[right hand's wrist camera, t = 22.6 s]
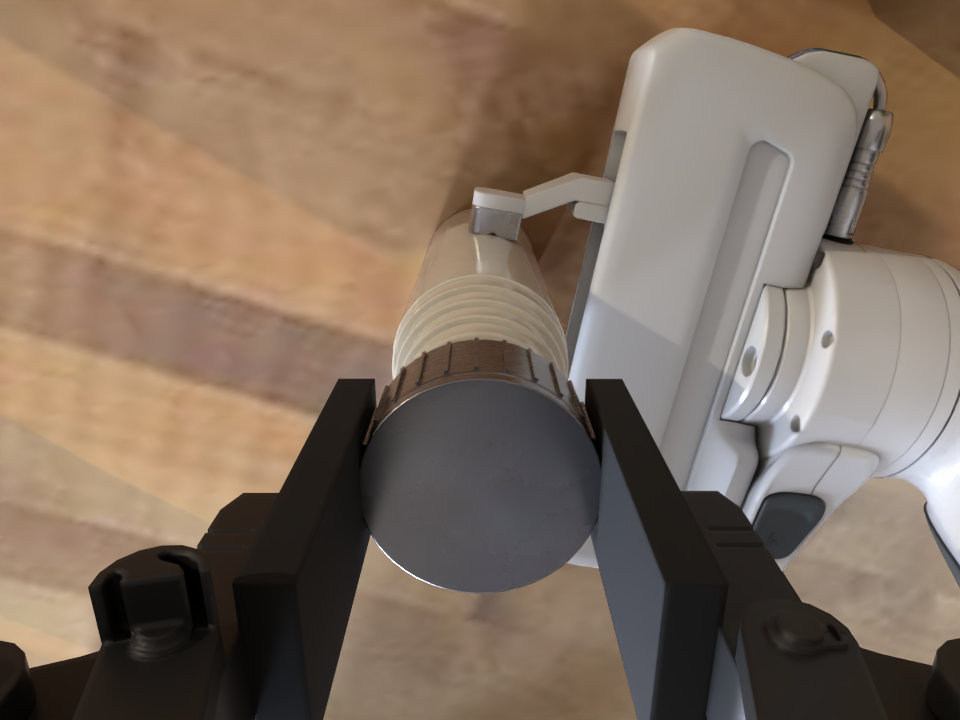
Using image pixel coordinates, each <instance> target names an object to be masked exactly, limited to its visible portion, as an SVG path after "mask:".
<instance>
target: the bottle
mask: <svg viewBox="0 0 960 720" xmlns="http://www.w3.org/2000/svg"><path fill="white" fill-rule="evenodd" d="M470 214H471V209H468V210H464V211H461V212H459V213H457V214H454V215H453V216H451V217H450V218H448V219H447V220H446V221H445V222H443V223H442V225H441V226H440V227H439V228H438V229H437V231H436V232H435V233H434V235H433V237H432V239H431V242H430V244H429V247H428V250H427V252H426V255H425V258H424V260H423V263H422V266H421V269H420V271H419V274H418V277H417V279H416V282H415V285H414V287H413V290H412V293H411V295H410V298H409V301H408V303H407V306H406V309H405V312H404V314H403V317H402V320H401V322H400V325H399V328H398V330H397V333H396V337H395V341H394V347H393V361H392V373H393V380H394V379H395V377H396V376H397V375H398V374H399V372H400V369H401V368H402V367H403V366H404V367H406V366H407V365H409V364H410V363H411V362H413V361H414V360H415V359H417V358H418V357H420V356H421V355H422V352H424V351H426V352H429V351H431V350H433V349H436V348H438V347H440V346H443V345H446V344H447V342H449V341H451V342H452V343H454V342H458V341H465V340H475V338H476V337H479V340H482V339H488V340H496V341H502V340H506V341H507V343H511V344H515V345H518V346H520V347H523V348H526V349H528V348H531V349H532V350H533V352H534V353H536V354H538V355H540V356H541V357H543V358H544V359H546V360H547V361H548V362H550V363H551V362H554V363H555V366H556V368H557V369H558V370H559V371H560V372H561V373H562V374H563V375H564V376H565V378H566V379H568V367H569V363H568V351H567V342H566V338H565V334H564V331H563V328H562V325H561V323H560V320H559V317H558V315H557V312H556V309H555V307H554V304H553V301H552V299H551V296H550V293H549V291H548V288H547V285H546V283H545V280H544V277H543V275H542V272H541V269H540V267H539V264H538V261H537V259H536V256H535V253H534V251H533V248H532V245H531V243H530V241H529V238H528V236H527V234H526V233H525V231H524V230H523V229H522V227H521V226H520V228H519V233H518V237H517V241H514V240H508V239H503V238H501V237H497V236H496V235H495V234H494V233H491V234H488V235H484V234H481V235H480V234H476V233H472V232H470V231H468V228H469V221H470Z"/></svg>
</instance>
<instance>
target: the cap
mask: <svg viewBox="0 0 960 720" xmlns="http://www.w3.org/2000/svg"><path fill="white" fill-rule="evenodd" d="M596 440H597V439H596V436H595V433H594V430H593V427H592V424H591V422H590V419H589V416H588V413H587V410H586V407H585V404H584V402H583V401H582V402H580V400H579V398H578V395H577V394H576V391H575V388H574V385H573V382H572V381H571V380H569V381H568V380H567V379H566V378H565V376H564V375H563V374H562V373H561V372H560V371H559V370H558V369H557V368H556V366H555V363H554V362H551V363H550V362H548V361H547V360H546V359H544V358H543V357H541V356H540V355H538V354H536V353H534V352H533V350H532V349H531V348H528V349H526V348H523V347H520V346H518V345H515V344H511V343H507V341H506V340H502V341H496V340H488V339H482V340H479V337H476V338H475V340H465V341H458V342H454V343H452V342H451V341H449V342H447V344H446V345H443V346H440V347H438V348H436V349H433V350H431V351H429V352H426V351H424V352H422V355H421V356H420V357H418V358H417V359H415V360H414V361H413V362H411V363H410V364H409V365H407V366H406V367H404V366H403V367H402V368H401V369H400V372H399V374H398V375H397V376H396V377H395V379H394V380H393V381H392V383H391V384H390V385H389V386H387V385H386V387H385V388H384V391H383V394H382V397H381V400H380V403H379V406H378V408H375V410H374V413H373V416H372V419H371V421H370V424H369V427H368V430H367V433H366V436H365V439H364V441H363V444H362V447H363V448H365V449H364V452H363V455H362V458H361V461H360V466H359V472H360V487H361V501H362V515H363V519H364V521H365V524H366V526H367V528H368V530H369V532H370V534H371V535H372V537H373V539H374V541H375V542H376V543H377V544H378V546H379V547H380V548H381V550H382V551H383V552H384V553H385V554H386V555H387V556H388V557H389V558H390V559H391V560H392V561H393V562H394V563H395V564H397V565H398V566H399V567H401V568H402V569H403V570H404V571H406V572H408V573H409V574H411V575H413V576H414V577H416V578H418V579H420V580H422V581H425V582H427V583H429V584H431V585H434V586H438V587H441V588H444V589H448V590H453V591H458V592H466V593H495V592H504V591H509V590H513V589H517V588H521V587H524V586H526V585H529V584H532V583H535V582H537V581H539V580H541V579H543V578H545V577H547V576H548V575H550V574H552V573H553V572H555V571H556V570H558V569H559V568H561V567H562V566H563V565H564V564H565V563H567V562H568V561H569V560H570V559H571V558H572V557H573V556H574V555H575V554H576V553H577V552H578V551H579V550H580V549H581V547H582V546H583V544H584V543H585V542H586V540H587V539H588V537H589V536H590V534H591V532H592V530H593V528H594V526H595V524H596V521H597V519H598V512H599V498H600V484H601V462H600V458H599V454H598V451H597V449H596V445H595V443H594V441H596Z"/></svg>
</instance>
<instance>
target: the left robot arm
mask: <svg viewBox="0 0 960 720" xmlns="http://www.w3.org/2000/svg"><path fill="white" fill-rule="evenodd" d="M872 97H874V102H873V109H868V108H869V105H870V102H871V100H872ZM886 107H887V89H886V84H885V81H884V79H883V77H882V75H881V73H880V71H879V70H878V68H877V66H875V65H874V64H873V63H871V62H870V61H868V60H867V59H865V58H862V57H860V56H857V55H852V54H847V53H842V52H837V51H832V50H827V49H822V48H812V49H806V50H802V51H799V52H796V53H794V54H792V55H790V56H789V57H784V56H782V55H779V54H776V53H774V52H771V51H769V50H766V49H763V48H760V47H757V46H755V45H752V44H749V43H746V42H743V41H739V40H736V39H733V38H730V37H726V36H722V35H718V34H715V33H711V32H707V31H703V30H698V29H693V28H686V27H685V28H673V29H669V30H666V31H664V32H662V33H660V34H658V35H657V36H655V37H653V38H652V39H650V40H649V41H647V42H646V43H645V44H643V45H642V46H640V47H639V48H638V49H636V50H635V51H634V53H633V54H632V56H631V58H630V61H629V65H628V69H627V73H626V77H625V82H624V86H623V90H622V94H621V99H620V103H619V107H618V112H617V116H616V120H615V125H614V129H613V133H612V138H611V142H610V146H609V150H608V155H607V159H606V163H605V168H604V172H603V176H602V177H596V176H591V175H585V174H579V173H574V172H572V173H570V174H567V175H564V176H562V177H559V178H556V179H554V180H551V181H548V182H546V183H543V184H540V185H538V186H535V187H532V188H530V189H527V190H524V191H523V194H519V193H513V192H508V191H502V190H497V189H491V188H485V187H475V191H474V197H473V202H472V208H471V214H470V221H469V228H468V231H470V232H472V233H476V234H480V235H481V234H484V235H488V234H491V233H494V234H495V235H496V236H497V237H501V238H503V239H508V240H514V241H517V237H518V233H519V228H520V224H521V219H522V218H523V219H524V218H527V217H530V216H533V215H536V214H538V213H541V212H544V211H547V210H550V209H553V208H556V207H558V206H561V205H564V204H567V205H566V207H567V208H568V210H569V211H570V212H571V213H572V214H573V216H574V217H575V218H577V219H582V220H587V221H592V224H591V228H590V232H589V237H588V241H587V245H586V249H585V254H584V258H583V262H582V267H581V271H580V275H579V280H578V284H577V288H576V293H575V297H574V301H573V305H572V310H571V314H570V318H569V323H568V327H567V331H566V336H565V338H566V342H567V351H568V363H569V367H568V379H567V380H568V381H569V380H571V381H572V382H573V385H574V388H575V391H576V394H577V395H578V398H579V400H580V402H582V401H583V402H584V404H585V387H586V379H623V381H624V383H625V385H626V387H627V389H628V391H629V393H630V395H631V397H632V399H633V401H634V402H635V404H636V406H637V408H638V410H639V412H640V414H641V416H642V418H643V420H644V422H645V424H646V425H647V427H648V429H649V431H650V433H651V435H652V437H653V439H654V441H655V443H656V445H657V447H658V448H659V450H660V452H661V454H662V456H663V458H664V460H665V462H666V464H667V466H668V468H669V470H670V471H671V473H672V475H673V477H674V479H675V481H676V483H677V485H678V487H679V489H680V491H718V492H720V493H721V494H723V495H724V496H725V497H727V498H728V499H729V500H731V501H732V502H734V503H735V504H736V505H738V506H739V507H740V508H741V509H742V510H743V512H744V514H745V515H746V517H747V518H748V520H749V521H750V523H751V524H752V526H753V530H754V531H756V532H757V534H758V535H759V537H760V538H761V540H762V541H763V543H764V547H767V549H768V550H769V552H770V554H771V555H772V557H773V558H774V560H775V561H776V563H777V564H778V566H779V567H780V569H781V570H782V571H783V570H784V569H785V568H786V566H787V565H788V564H789V563H790V562H791V561H792V559H793V558H794V557H795V556H796V555H797V553H798V552H799V551H800V550H801V548H802V547H803V546H804V545H805V544H806V542H807V541H808V540H809V539H810V538H811V537H812V535H813V534H814V533H815V532H816V531H817V530H818V529H819V527H820V526H821V525H822V524H823V523H824V522H825V521H826V520H827V519H828V518H829V517H830V515H831V514H832V513H833V512H834V511H835V510H836V509H837V508H838V507H839V506H840V505H841V504H842V503H843V502H844V501H845V500H846V499H847V498H849V497H850V496H851V495H852V494H853V493H854V492H855V491H856V490H858V489H859V488H860V487H861V486H862V485H863V484H864V483H865V482H866V481H867V480H868V479H869V478H898V479H902V480H905V481H907V482H909V483H911V484H913V485H914V486H916V487H917V488H918V489H920V490H921V491H922V492H923V493H924V495H925V497H926V499H927V502H926V503H925V505H924V512H925V515H926V518H927V521H928V524H929V527H930V529H931V532H932V534H933V536H934V538H935V540H936V542H937V544H938V546H939V549H940V551H941V553H942V555H943V557H944V559H945V561H946V562H947V564H948V566H949V568H950V570H951V572H952V574H953V576H954V578H955V580H956V582H957V584H958V586H959V588H960V270H958V269H956V268H955V267H953V266H951V265H949V264H947V263H945V262H943V261H941V260H938V259H935V258H932V257H929V256H925V255H920V254H914V253H909V252H903V251H898V250H892V249H887V248H881V247H876V246H870V245H865V244H860V243H855V242H853V241H851V240H852V238H853V235H854V232H855V229H856V227H857V224H858V221H859V218H860V216H861V213H862V210H863V207H864V205H865V202H866V198H867V195H868V189H869V187H870V181H871V178H872V175H871V174H872V173H873V171H874V168H875V167H874V165H876V162H877V160H878V157H879V155H880V152H881V153H882V152H883V150H884V148H885V146H886V144H887V142H888V139H889V136H890V133H891V129H892V124H893V113H892V112H889V111H886ZM567 563H568V564H573V565H579V566H586V567H593V568H599V567H598V563H597V559H596V555H595V551H594V547H593V543H592V539H591V535H590V536H589V537H588V539H587V540H586V542H585V543H584V544H583V546H582V547H581V549H580V550H579V551H578V552H577V553H576V554H575V555H574V556H573V557H572V558H571V559H570V560H569V561H568V562H567Z"/></svg>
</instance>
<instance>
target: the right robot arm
mask: <svg viewBox="0 0 960 720" xmlns="http://www.w3.org/2000/svg"><path fill="white" fill-rule="evenodd" d="M585 407H586V410H587V413H588V416H589V419H590V422H591V424H592V427H593V430H594V433H595V436H596V439H597V440H596V441H594V443H595V445H596V449H597V451H598V454H599V458H600V462H601V484H600V498H599V512H598V519H597V521H596V524H595V526H594V528H593V530H592V532H591V534H590V535H591V539H592V543H593V547H594V551H595V555H596V559H597V563H598V567H599V570H600V574H601V578H602V582H603V586H604V590H605V594H606V598H607V602H608V606H609V609H610V613H611V617H612V621H613V625H614V629H615V633H616V637H617V641H618V645H619V648H620V652H621V656H622V660H623V664H624V668H625V672H626V676H627V680H628V684H629V687H630V691H631V695H632V699H633V703H634V707H635V711H636V715H637V719H638V720H960V638H959V639H954V640H948V641H946V642H945V643H944V644H943V645H942V646H941V647H940V648H939V649H938V650H937V653H936V656H935V659H934V663H933V666H931V665H927V664H922V663H918V662H914V661H909V660H905V659H901V658H896V657H892V656H887V655H883V654H879V653H876V652H873V651H869V650H866V649H863V648H860V647H859V645H858V643H857V641H856V640H855V638H854V637H853V635H852V634H851V632H850V631H849V629H848V628H847V627H846V626H844V625H843V624H842V623H841V622H839V621H838V620H837V619H836V618H834V617H833V616H832V615H831V614H829V613H827V612H825V611H822V610H820V609H818V608H816V607H814V606H812V605H810V604H806V603H803V602H802V601H801V600H800V598H799V597H798V595H797V593H796V592H795V590H794V589H793V587H792V586H791V584H790V583H789V581H788V580H787V578H786V577H785V575H784V574H783V572H782V570H781V569H780V567H779V566H778V564H777V563H776V561H775V560H774V558H773V557H772V555H771V554H770V552H769V550H768V549H767V547H764V543H763V541H762V540H761V538H760V537H759V535H758V534H757V532H756V531H754V530H753V526H752V524H751V523H750V521H749V520H748V518H747V517H746V515H745V514H744V512H743V510H742V509H741V508H740V507H739V506H738V505H736V504H735V503H734V502H732V501H731V500H729V499H728V498H727V497H725V496H724V495H723V494H721V493H720V492H718V491H680V489H679V487H678V485H677V483H676V481H675V479H674V477H673V475H672V473H671V471H670V470H669V468H668V466H667V464H666V462H665V460H664V458H663V456H662V454H661V452H660V450H659V448H658V447H657V445H656V443H655V441H654V439H653V437H652V435H651V433H650V431H649V429H648V427H647V425H646V424H645V422H644V420H643V418H642V416H641V414H640V412H639V410H638V408H637V406H636V404H635V402H634V401H633V399H632V397H631V395H630V393H629V391H628V389H627V387H626V385H625V383H624V381H623V379H586V387H585ZM375 408H376V391H375V379H338V381H337V383H336V385H335V387H334V389H333V391H332V392H331V394H330V396H329V398H328V400H327V402H326V404H325V406H324V408H323V410H322V412H321V414H320V415H319V417H318V419H317V421H316V423H315V425H314V427H313V429H312V431H311V433H310V435H309V437H308V438H307V440H306V442H305V444H304V446H303V448H302V450H301V452H300V454H299V456H298V458H297V460H296V461H295V463H294V465H293V467H292V469H291V471H290V473H289V475H288V477H287V479H286V481H285V483H284V484H283V486H282V488H281V490H280V492H279V493H243V494H241V495H240V496H239V497H237V498H236V499H235V500H233V501H232V502H230V503H229V504H228V505H226V506H225V507H224V508H222V509H221V510H220V511H219V513H218V514H217V516H216V518H215V519H214V521H213V522H212V524H211V525H210V527H209V528H208V533H205V535H204V536H203V538H202V539H201V541H200V542H199V544H198V545H197V549H194V548H191V547H187V546H183V545H171V546H158V547H154V548H149V549H145V550H140V551H137V552H135V553H133V554H130V555H128V556H126V557H123V558H121V559H119V560H117V561H115V562H114V563H113V564H111V565H110V566H108V567H107V568H105V569H104V570H103V571H101V572H100V573H99V574H98V575H97V576H96V578H95V579H94V580H93V582H92V583H91V584H90V585H89V587H88V589H89V593H90V597H91V601H92V605H93V609H94V614H95V618H96V622H97V626H98V630H99V634H100V638H101V642H102V646H101V648H100V651H98V652H94V653H91V654H88V655H84V656H81V657H77V658H73V659H68V660H64V661H60V662H55V663H51V664H46V665H42V666H38V667H33V668H29V666H28V663H27V659H26V656H25V653H24V652H23V651H22V650H21V649H20V648H19V647H18V646H17V645H16V644H15V643H9V642H4V641H0V720H323V718H324V714H325V710H326V706H327V702H328V698H329V694H330V690H331V687H332V683H333V679H334V675H335V671H336V667H337V663H338V659H339V655H340V651H341V647H342V644H343V640H344V636H345V632H346V628H347V624H348V620H349V616H350V612H351V608H352V605H353V601H354V597H355V593H356V589H357V585H358V581H359V577H360V573H361V569H362V566H363V562H364V558H365V554H366V550H367V546H368V542H369V538H370V532H369V530H368V528H367V526H366V524H365V521H364V519H363V515H362V501H361V487H360V472H359V466H360V461H361V458H362V455H363V452H364V449H365V448H363V447H362V444H363V441H364V439H365V436H366V433H367V430H368V427H369V424H370V421H371V419H372V416H373V413H374V410H375Z"/></svg>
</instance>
